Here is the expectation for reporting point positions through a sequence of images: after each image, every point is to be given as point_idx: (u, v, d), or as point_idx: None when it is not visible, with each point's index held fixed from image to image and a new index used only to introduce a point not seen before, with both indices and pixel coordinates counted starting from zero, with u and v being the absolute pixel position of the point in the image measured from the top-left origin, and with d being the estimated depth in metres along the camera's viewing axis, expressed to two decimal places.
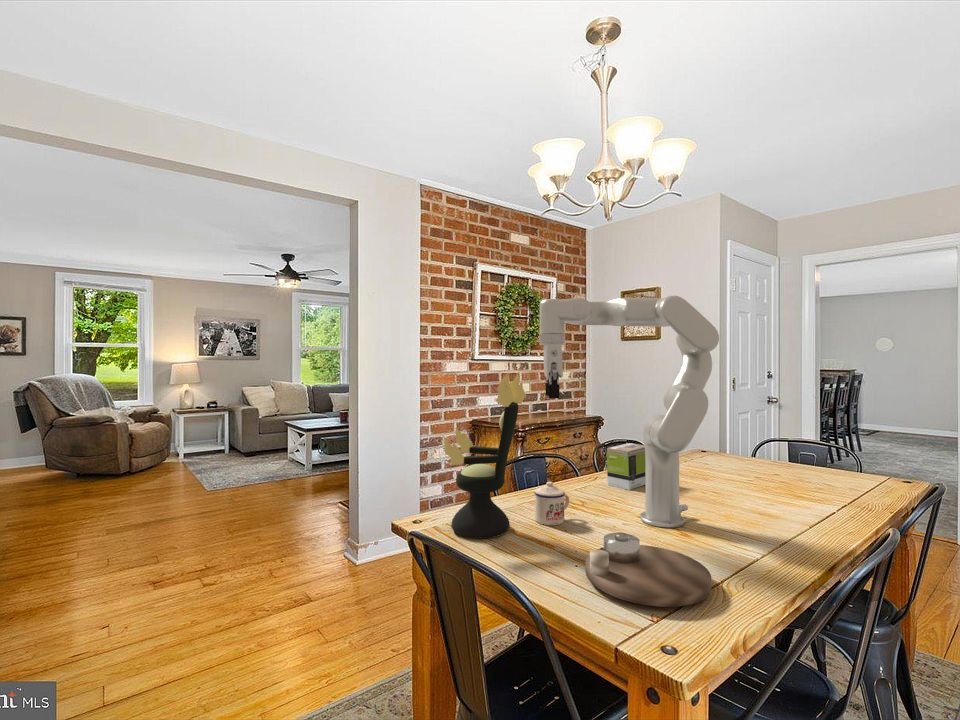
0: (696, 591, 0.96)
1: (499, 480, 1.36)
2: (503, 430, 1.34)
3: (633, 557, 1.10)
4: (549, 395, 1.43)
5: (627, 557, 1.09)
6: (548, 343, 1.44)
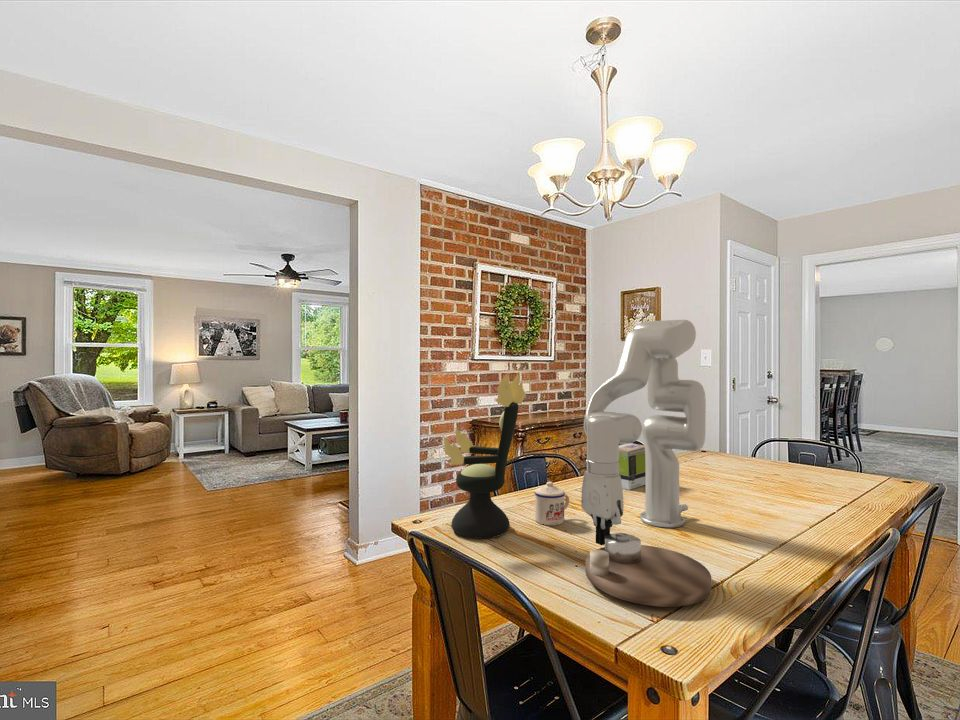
0: (696, 591, 0.96)
1: (499, 480, 1.36)
2: (503, 430, 1.34)
3: (634, 558, 1.09)
4: None
5: (628, 557, 1.09)
6: None
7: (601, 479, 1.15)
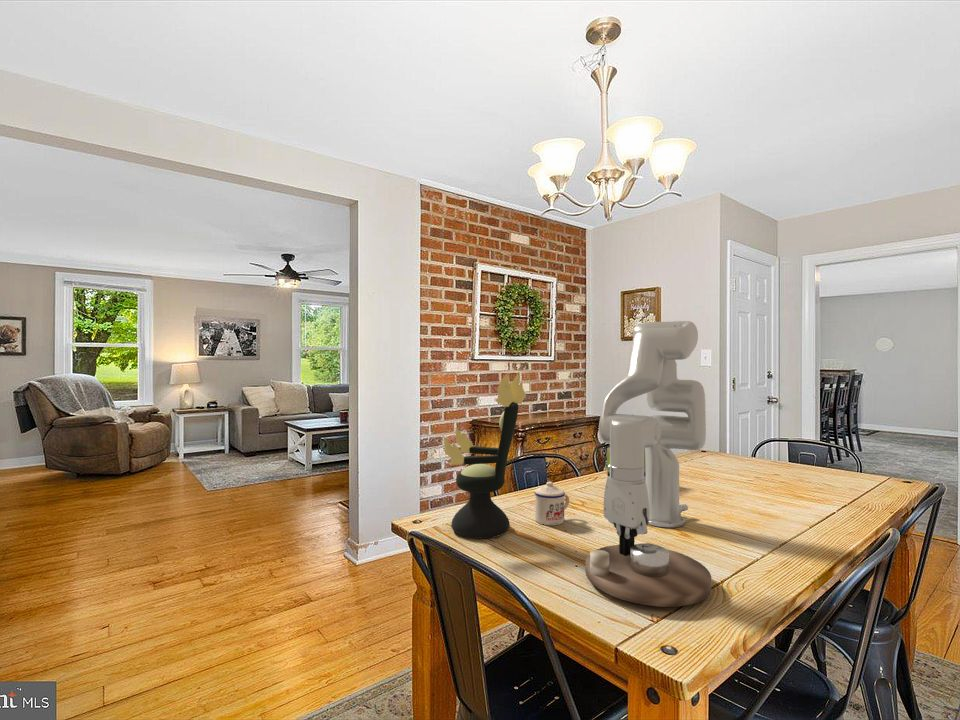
0: (697, 591, 0.96)
1: (499, 480, 1.36)
2: (503, 430, 1.34)
3: (663, 570, 1.03)
4: None
5: (657, 570, 1.03)
6: None
7: (626, 486, 1.08)
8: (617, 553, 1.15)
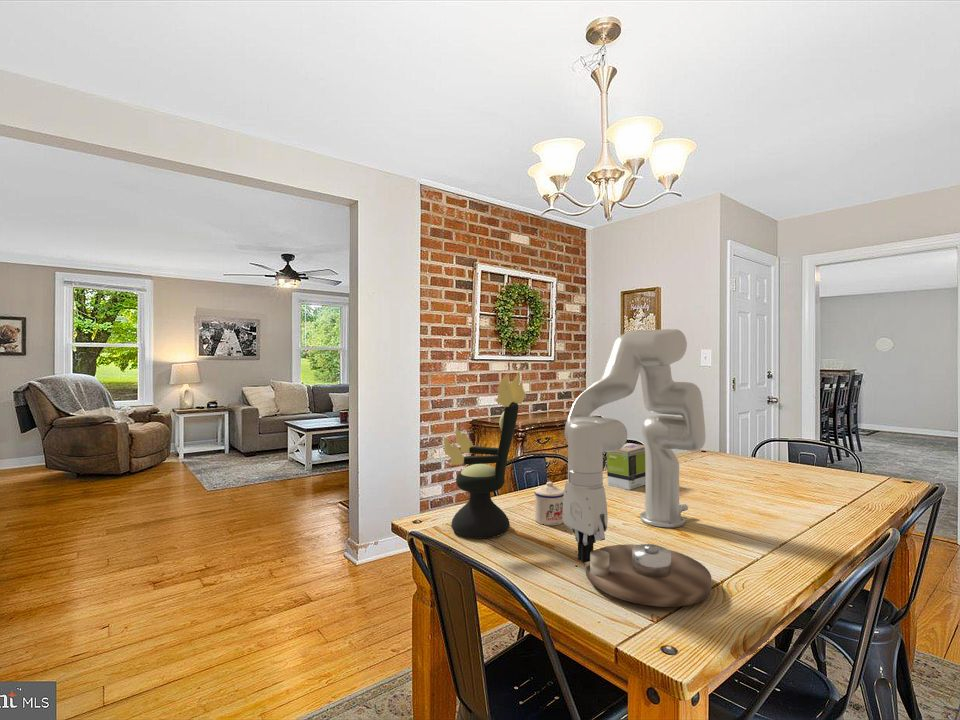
0: (697, 591, 0.96)
1: (499, 480, 1.36)
2: (503, 430, 1.34)
3: (665, 571, 1.03)
4: None
5: (659, 571, 1.02)
6: None
7: (583, 491, 1.05)
8: (617, 553, 1.15)
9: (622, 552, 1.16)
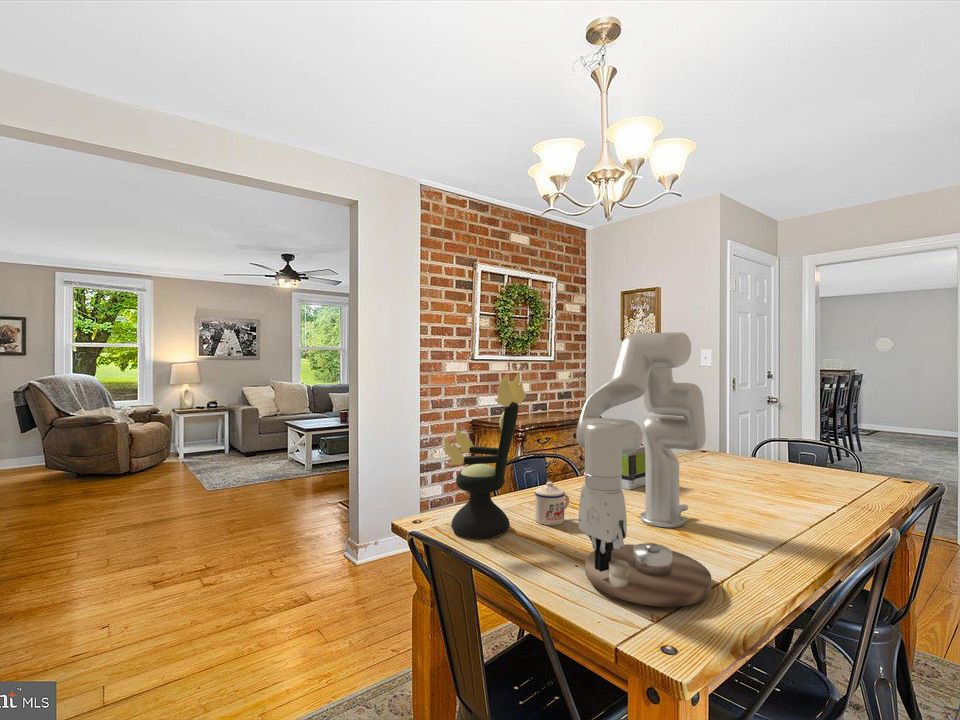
0: (709, 580, 1.01)
1: (499, 480, 1.36)
2: (503, 430, 1.34)
3: (671, 567, 1.05)
4: None
5: (669, 568, 1.03)
6: None
7: (601, 496, 1.00)
8: None
9: None
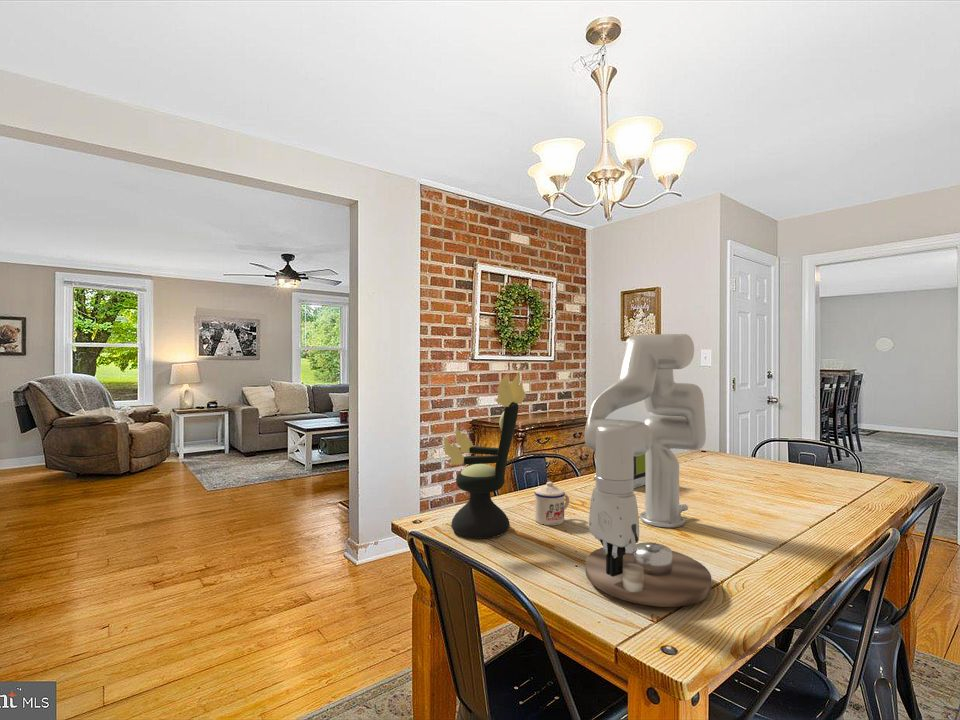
0: (708, 573, 1.04)
1: (499, 480, 1.36)
2: (503, 430, 1.34)
3: None
4: None
5: (671, 566, 1.05)
6: None
7: (613, 499, 0.98)
8: (605, 562, 1.10)
9: None
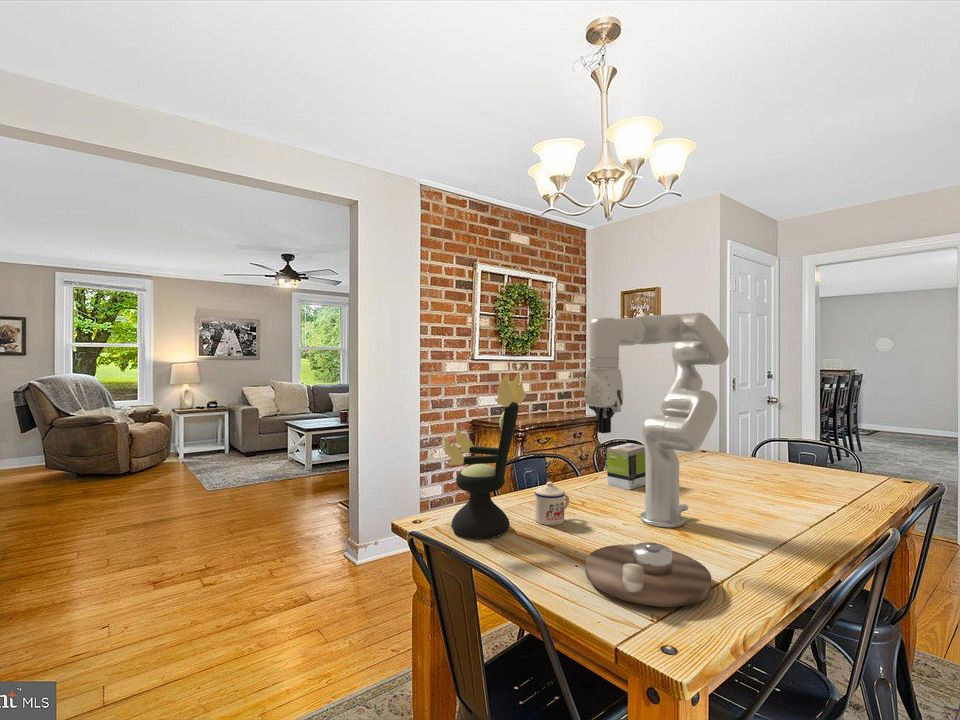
0: (708, 573, 1.04)
1: (499, 480, 1.36)
2: (503, 430, 1.34)
3: None
4: None
5: (671, 566, 1.05)
6: None
7: (603, 372, 1.28)
8: (605, 562, 1.10)
9: (606, 560, 1.11)
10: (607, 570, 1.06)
